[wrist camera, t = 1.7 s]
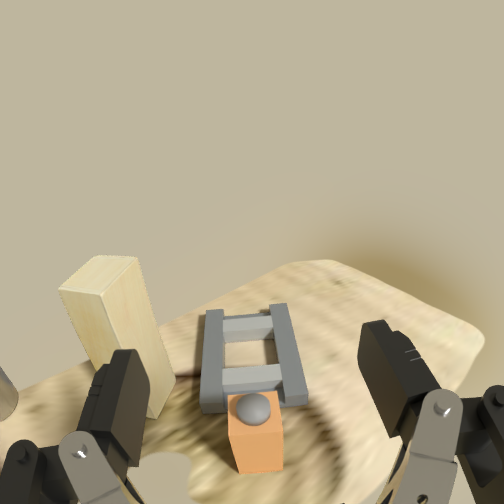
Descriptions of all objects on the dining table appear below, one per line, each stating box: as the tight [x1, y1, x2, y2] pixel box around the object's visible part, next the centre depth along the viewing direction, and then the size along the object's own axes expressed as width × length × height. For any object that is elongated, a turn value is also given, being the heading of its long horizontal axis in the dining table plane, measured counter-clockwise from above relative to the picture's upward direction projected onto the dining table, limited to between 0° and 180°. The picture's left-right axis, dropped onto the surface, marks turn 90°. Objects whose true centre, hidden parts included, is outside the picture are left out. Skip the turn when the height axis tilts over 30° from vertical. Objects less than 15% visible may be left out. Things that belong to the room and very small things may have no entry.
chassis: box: [199, 303, 308, 414], centre depth 47 cm, size 20×14×2 cm
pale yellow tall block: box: [58, 255, 176, 419], centre depth 37 cm, size 8×7×21 cm
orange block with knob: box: [228, 391, 283, 474], centre depth 30 cm, size 5×5×11 cm
